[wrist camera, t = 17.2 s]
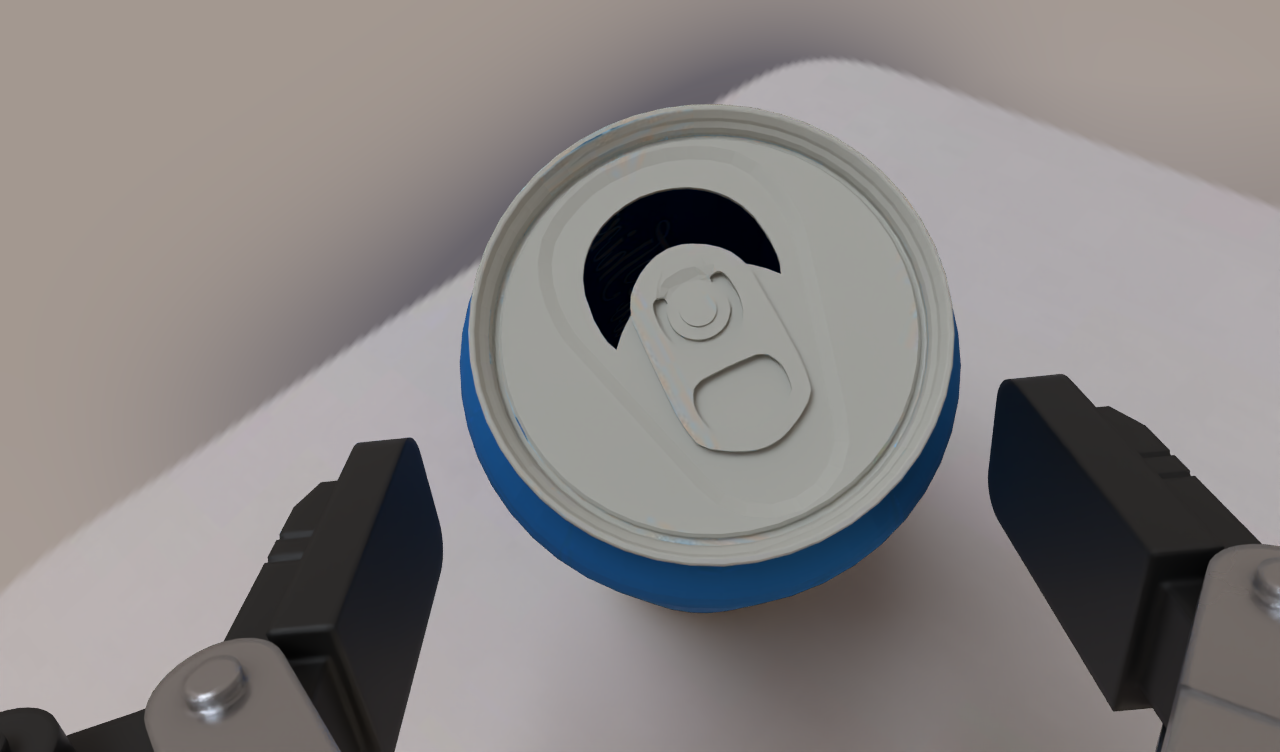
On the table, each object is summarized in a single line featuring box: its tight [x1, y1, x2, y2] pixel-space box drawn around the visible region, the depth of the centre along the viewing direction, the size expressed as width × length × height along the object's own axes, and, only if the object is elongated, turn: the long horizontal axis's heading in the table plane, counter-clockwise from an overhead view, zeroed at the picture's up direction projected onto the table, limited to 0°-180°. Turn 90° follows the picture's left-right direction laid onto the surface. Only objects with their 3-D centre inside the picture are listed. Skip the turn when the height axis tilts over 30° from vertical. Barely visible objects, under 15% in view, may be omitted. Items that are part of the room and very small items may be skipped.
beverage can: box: [460, 104, 961, 613], centre depth 16 cm, size 6×6×12 cm
